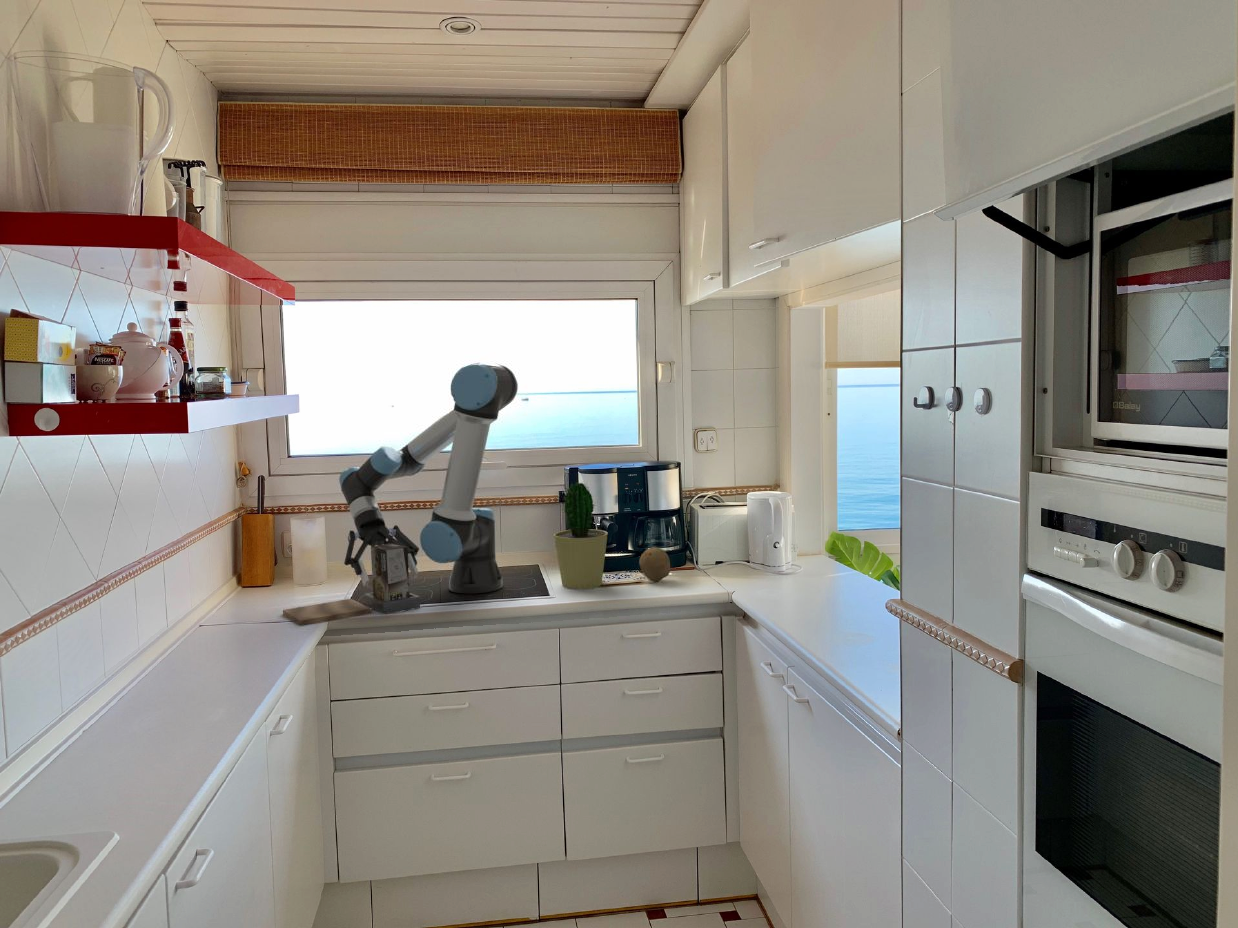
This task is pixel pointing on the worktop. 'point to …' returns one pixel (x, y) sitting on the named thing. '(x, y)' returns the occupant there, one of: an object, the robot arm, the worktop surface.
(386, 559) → the coffee box
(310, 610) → the board
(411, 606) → the holder
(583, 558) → the potted cactus
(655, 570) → the coconut
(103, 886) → the worktop surface
